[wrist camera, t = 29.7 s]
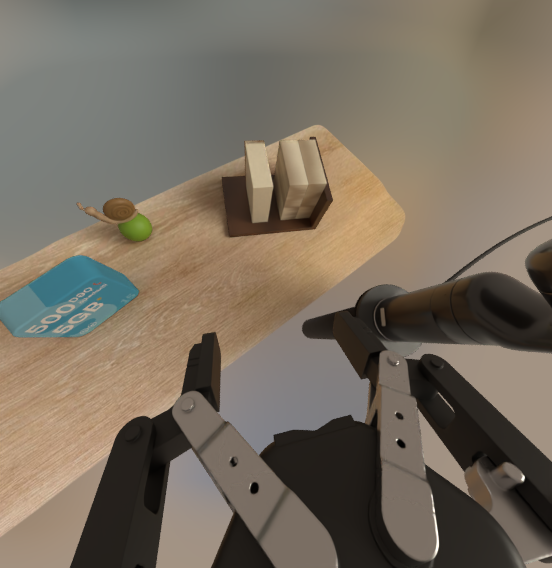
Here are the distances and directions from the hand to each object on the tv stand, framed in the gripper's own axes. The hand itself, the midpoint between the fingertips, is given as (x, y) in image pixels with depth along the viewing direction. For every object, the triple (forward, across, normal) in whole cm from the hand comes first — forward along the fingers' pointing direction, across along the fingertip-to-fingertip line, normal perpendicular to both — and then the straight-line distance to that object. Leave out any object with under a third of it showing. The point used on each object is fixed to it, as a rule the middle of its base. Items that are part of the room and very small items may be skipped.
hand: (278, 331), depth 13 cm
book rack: (+40, -7, -1) cm, 41 cm away
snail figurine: (+37, +21, +3) cm, 42 cm away
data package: (+27, +27, +12) cm, 40 cm away
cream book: (+39, -4, -2) cm, 39 cm away
